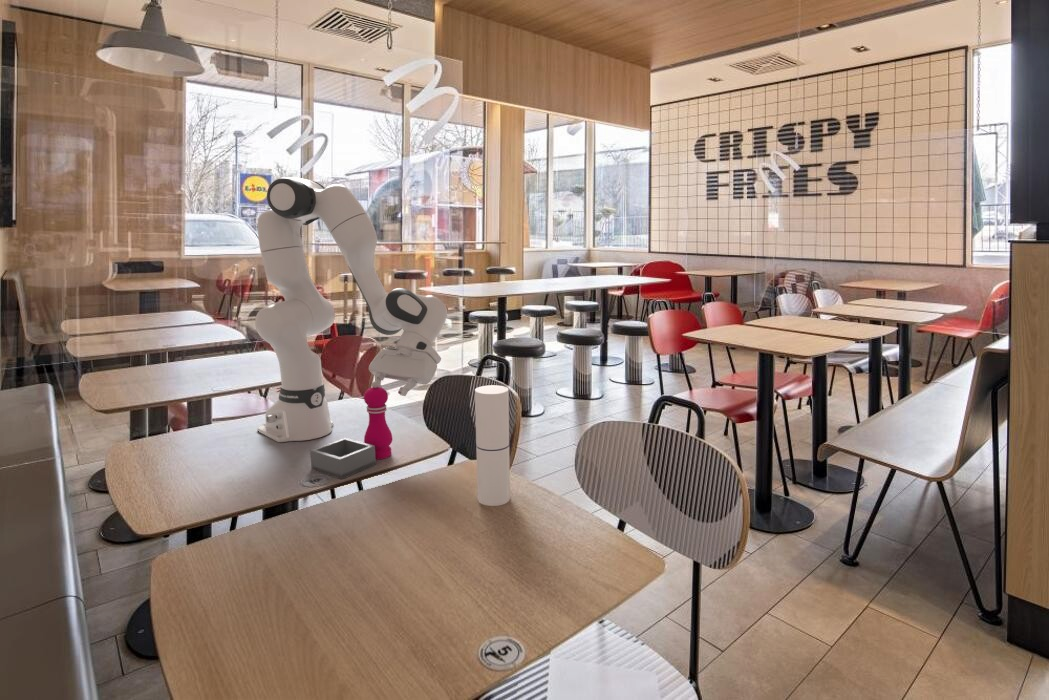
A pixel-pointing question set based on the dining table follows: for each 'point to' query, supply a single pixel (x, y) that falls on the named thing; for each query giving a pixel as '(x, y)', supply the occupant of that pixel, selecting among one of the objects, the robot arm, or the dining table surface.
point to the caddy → (342, 458)
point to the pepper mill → (377, 421)
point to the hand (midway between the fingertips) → (388, 392)
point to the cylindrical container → (492, 444)
